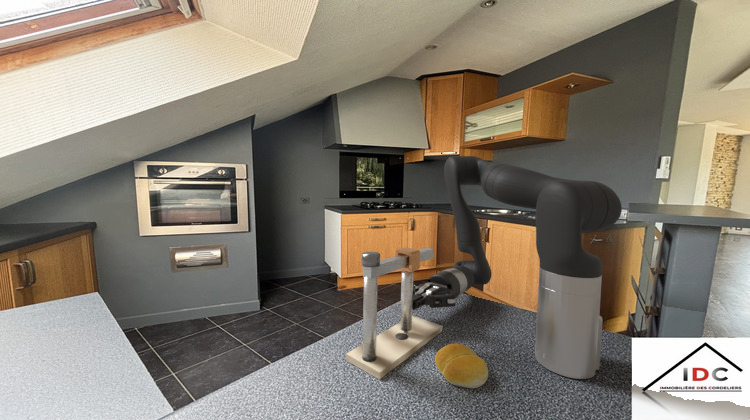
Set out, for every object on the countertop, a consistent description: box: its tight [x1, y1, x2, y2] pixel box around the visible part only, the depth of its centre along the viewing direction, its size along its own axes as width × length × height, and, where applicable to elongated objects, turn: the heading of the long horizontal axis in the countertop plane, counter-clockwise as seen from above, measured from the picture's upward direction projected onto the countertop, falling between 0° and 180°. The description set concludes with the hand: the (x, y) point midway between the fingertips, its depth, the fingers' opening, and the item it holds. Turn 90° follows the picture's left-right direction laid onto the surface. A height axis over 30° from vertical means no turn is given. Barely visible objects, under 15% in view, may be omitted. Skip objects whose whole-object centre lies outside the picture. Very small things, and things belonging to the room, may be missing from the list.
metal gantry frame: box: [361, 247, 434, 361], centre depth 57 cm, size 22×3×19 cm, turn 139°
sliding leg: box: [395, 247, 421, 333], centre depth 59 cm, size 3×4×17 cm
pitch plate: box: [345, 314, 443, 380], centre depth 58 cm, size 22×8×1 cm, turn 139°
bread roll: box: [434, 343, 489, 389], centre depth 49 cm, size 8×9×4 cm
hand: (409, 304), depth 60 cm, fingers closed
